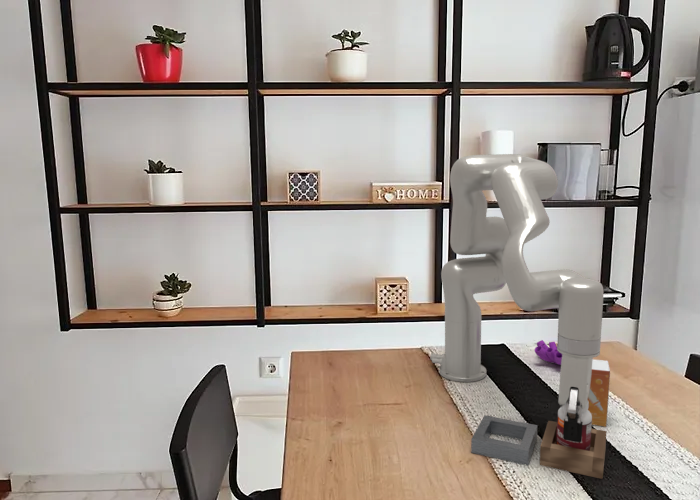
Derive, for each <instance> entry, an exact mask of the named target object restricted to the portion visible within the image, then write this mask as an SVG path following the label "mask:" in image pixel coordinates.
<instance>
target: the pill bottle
mask: <svg viewBox="0 0 700 500" xmlns="http://www.w3.org/2000/svg"><path fill="white" fill-rule="evenodd" d="M577 406H580V403H578V402H577ZM588 408H589V401H588V400H587V403H586V407H585V408H584V409H582V415H581V422H583V423H582V440H581V442H580V443H579V442H574V441H569V440H565V439H563V429H564V419H565V412H566V403H565V405H561V406H560V407H559V408H558V410H557V419H556V422H557V436H556V444H557V445H562V446H567V447H572V448H577V449H582V450H587V451H590V442H591V429H592V415H591V413H590V412H589V410H588ZM578 411H579V409H576V413H578Z"/></svg>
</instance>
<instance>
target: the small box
mask: <svg viewBox="0 0 700 500" xmlns="http://www.w3.org/2000/svg"><path fill="white" fill-rule="evenodd" d="M610 377H611V370H610V363H609V360H603V359H594V358H593V361H592V375H591V383H590V390H589V395H588V399H587V400H588V401H589V408H588V410H589V412H590V413H591V415H592V425H593V426H599V427H603V428H604V427H605V428H606V427H607V422H608V421H607V420H608V409H609V408H608V407H609V395H610V394H609V393H610V381H611V380H610V379H611V378H610Z"/></svg>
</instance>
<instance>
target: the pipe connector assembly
mask: <svg viewBox="0 0 700 500" xmlns="http://www.w3.org/2000/svg"><path fill="white" fill-rule="evenodd" d="M534 353H535V354H536V356H537V357H539V359H541V360H542V361H545V362H547V363H551V364H557V365H559V366H561V361H562V353H560V352H559V351H558V350H557V344H556V341H549V342H548V344H546V342H545V341H544V340H543V339H541V340H539V341H537V342H536V346H535V348H534Z"/></svg>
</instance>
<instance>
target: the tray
mask: <svg viewBox="0 0 700 500" xmlns="http://www.w3.org/2000/svg"><path fill="white" fill-rule="evenodd" d="M607 433H608V432H607V431H606V430H601V429H596V428H591V442H590V451H587V450H582V449H577V448H572V447H567V446H562V445H557V444H556V436H557V421H552V420H547V424H546V427H545V430H544V433H543V436H542V439H541V442H540V446H539V447H540V448H539V450H540V451H539V466H543V467H546V468H551V469H555V468H556V470H560V471H564V472H570V473H574V474H577V475H584V476H588V477H593V478H595V479H596V478H597V479H601V480H603V477H604V467H605V458H606V448H607V446H606V445H607V444H606V443H607Z"/></svg>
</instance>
